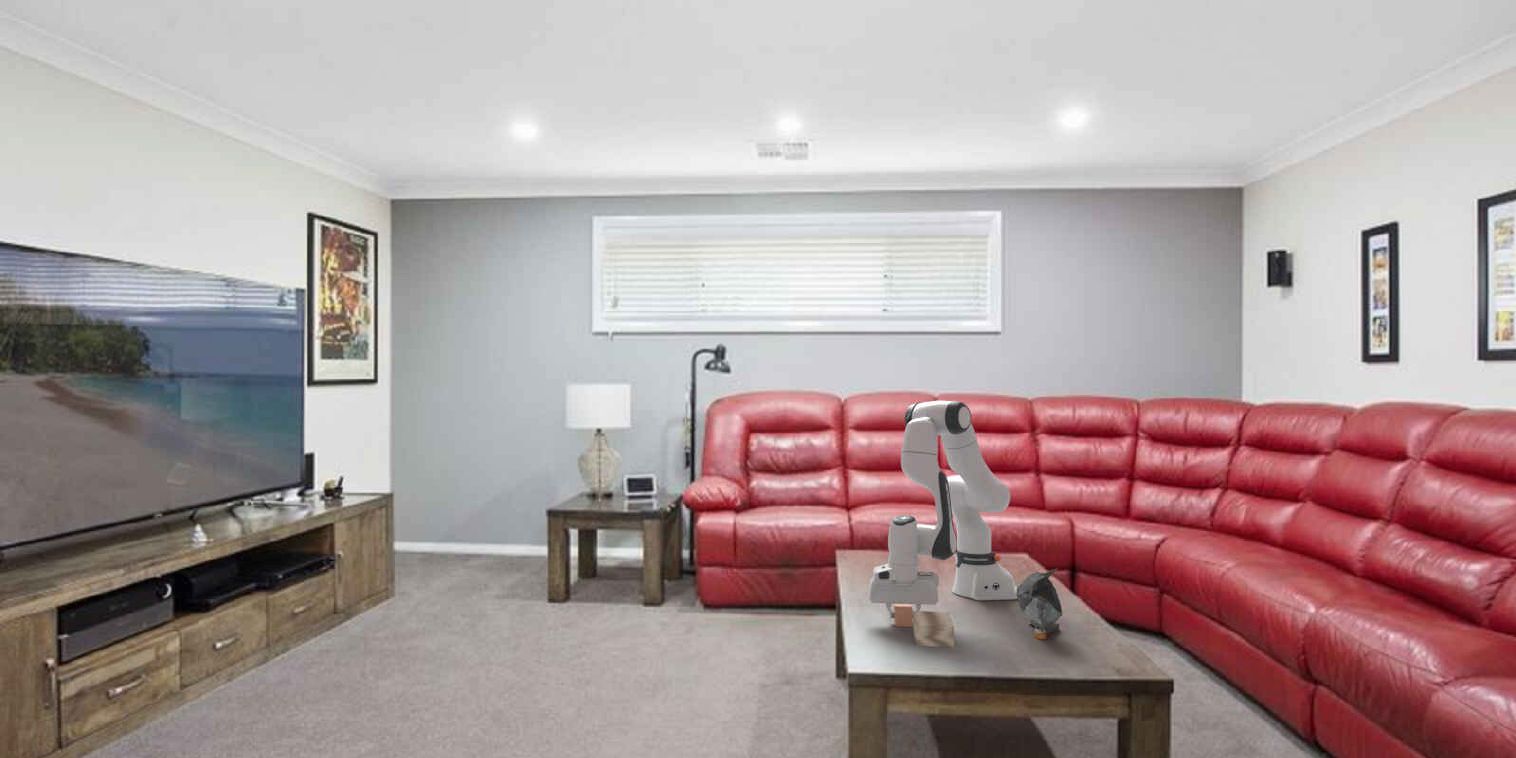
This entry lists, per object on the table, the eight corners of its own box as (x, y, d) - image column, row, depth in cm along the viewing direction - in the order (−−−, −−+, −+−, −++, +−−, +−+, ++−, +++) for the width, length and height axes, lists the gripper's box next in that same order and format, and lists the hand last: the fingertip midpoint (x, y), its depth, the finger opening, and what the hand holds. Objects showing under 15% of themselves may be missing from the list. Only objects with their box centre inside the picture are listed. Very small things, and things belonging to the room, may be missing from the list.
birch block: (948, 632, 219) (948, 612, 219) (953, 648, 207) (953, 626, 207) (913, 631, 220) (913, 610, 220) (916, 646, 208) (916, 624, 208)
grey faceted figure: (1003, 633, 218) (1002, 570, 218) (1033, 622, 227) (1033, 562, 227) (1048, 647, 206) (1048, 581, 206) (1078, 635, 216) (1078, 571, 215)
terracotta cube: (910, 621, 228) (910, 604, 228) (912, 626, 223) (912, 609, 223) (893, 620, 229) (893, 604, 229) (895, 626, 224) (895, 609, 224)
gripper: (937, 569, 228) (937, 615, 228) (868, 568, 230) (868, 613, 230) (940, 575, 222) (940, 622, 222) (869, 573, 223) (869, 620, 224)
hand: (903, 618), depth 226 cm, fingers closed on terracotta cube, 5 cm apart
